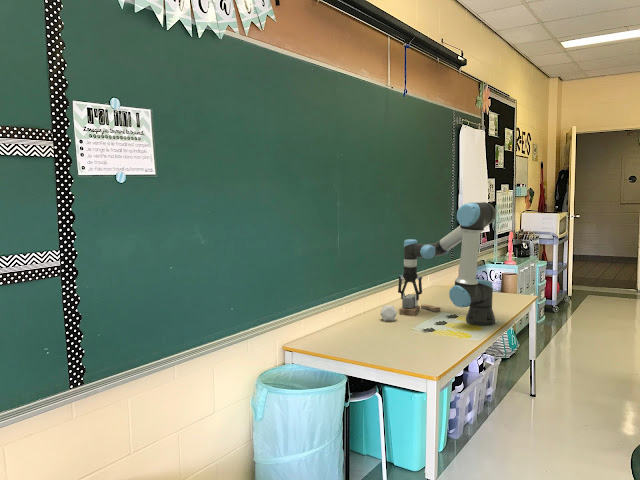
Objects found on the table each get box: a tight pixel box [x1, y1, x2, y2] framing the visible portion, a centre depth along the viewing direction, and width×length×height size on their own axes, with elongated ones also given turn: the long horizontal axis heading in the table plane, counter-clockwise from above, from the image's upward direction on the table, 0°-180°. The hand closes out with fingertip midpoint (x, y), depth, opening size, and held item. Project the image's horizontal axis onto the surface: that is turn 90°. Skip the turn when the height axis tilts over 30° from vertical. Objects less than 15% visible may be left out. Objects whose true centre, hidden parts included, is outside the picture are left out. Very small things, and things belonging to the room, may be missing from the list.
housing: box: [401, 293, 419, 308], centre depth 292 cm, size 6×10×6 cm, turn 152°
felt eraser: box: [420, 303, 442, 313], centre depth 299 cm, size 12×4×3 cm, turn 34°
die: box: [380, 304, 398, 322], centre depth 276 cm, size 8×9×10 cm
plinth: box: [399, 305, 421, 317], centre depth 293 cm, size 9×13×3 cm
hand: (409, 305), depth 292 cm, fingers closed on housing, 6 cm apart
